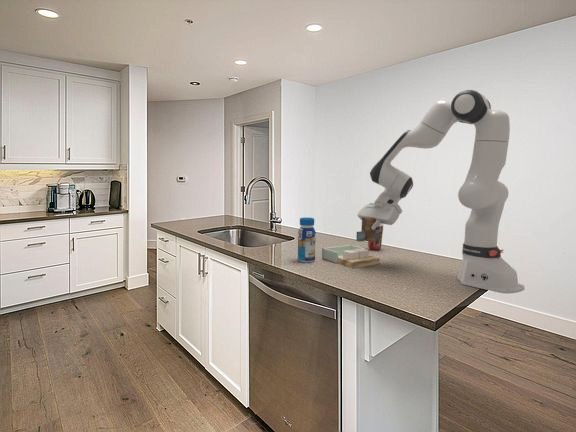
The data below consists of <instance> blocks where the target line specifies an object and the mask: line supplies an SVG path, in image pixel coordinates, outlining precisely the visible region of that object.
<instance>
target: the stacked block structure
mask: <svg viewBox="0 0 576 432" xmlns="http://www.w3.org/2000/svg"><path fill="white" fill-rule="evenodd" d="M375 222H376V219H375V218H373V217H362V220H361V231H356V242H368V241H373V240H377V239H380V230H376V228H375V229H374V230H371V229H370V226H371V224H374V223H375Z"/></svg>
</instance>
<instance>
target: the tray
mask: <svg viewBox="0 0 576 432" xmlns="http://www.w3.org/2000/svg"><path fill="white" fill-rule="evenodd" d="M321 249H322V250H321V259H323V260H325V261H328V262H331V263H334V264H339V263H338V258H341V257H343V251H347V250H354V249H365V250H367V248H366V247H365V248H364V247H361V246H357V245H353V244H346V245H339V246H330V247H322V248H321Z"/></svg>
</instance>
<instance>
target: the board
mask: <svg viewBox="0 0 576 432" xmlns="http://www.w3.org/2000/svg"><path fill="white" fill-rule="evenodd" d="M380 262H381V259H380V257H375V256H373V255H369V257H365V258H358V259H351V260H350V259H346V258H343V257H341V258H338V263H337V264H339V265H342V266H345V267H348V268H351V269H357V268H362V267H363V268H364V267H367V266H368V267H370V266H374V265H380Z"/></svg>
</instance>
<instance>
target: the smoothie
mask: <svg viewBox="0 0 576 432" xmlns="http://www.w3.org/2000/svg"><path fill="white" fill-rule="evenodd" d="M376 230H380V239H377V240H373V241H367V247H368V251H369V250H370V251H373V252H374V251H375V252H378V251H381V248H382V241H383V233H384V224H382V223H381V224H380V225H379V226H378V227H376Z"/></svg>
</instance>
